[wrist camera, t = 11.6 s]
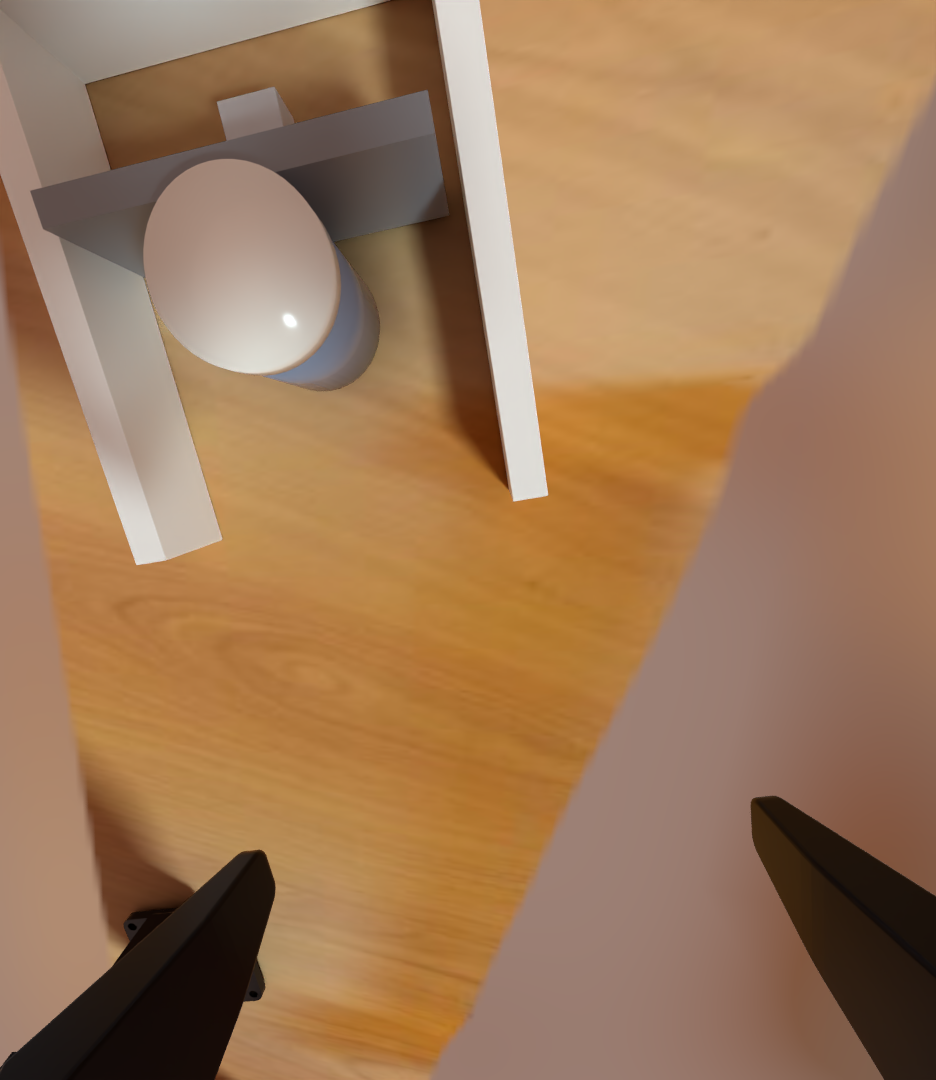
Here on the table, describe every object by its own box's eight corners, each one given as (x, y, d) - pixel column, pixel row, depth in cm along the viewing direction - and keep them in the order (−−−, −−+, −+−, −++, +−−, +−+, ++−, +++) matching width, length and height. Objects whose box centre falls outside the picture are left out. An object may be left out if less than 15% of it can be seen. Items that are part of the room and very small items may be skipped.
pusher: (449, 215, 16) (434, 132, 12) (154, 282, 17) (42, 229, 13) (428, 88, 15) (404, -51, 11) (120, 166, 16) (-12, 68, 12)
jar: (394, 380, 18) (350, 352, 12) (273, 404, 18) (177, 387, 13) (366, 240, 17) (303, 137, 11) (239, 268, 17) (116, 183, 12)
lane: (537, 485, 18) (554, 501, 14) (197, 544, 20) (101, 577, 15) (458, -65, 15) (442, -319, 10) (42, 53, 16) (-155, -119, 11)
